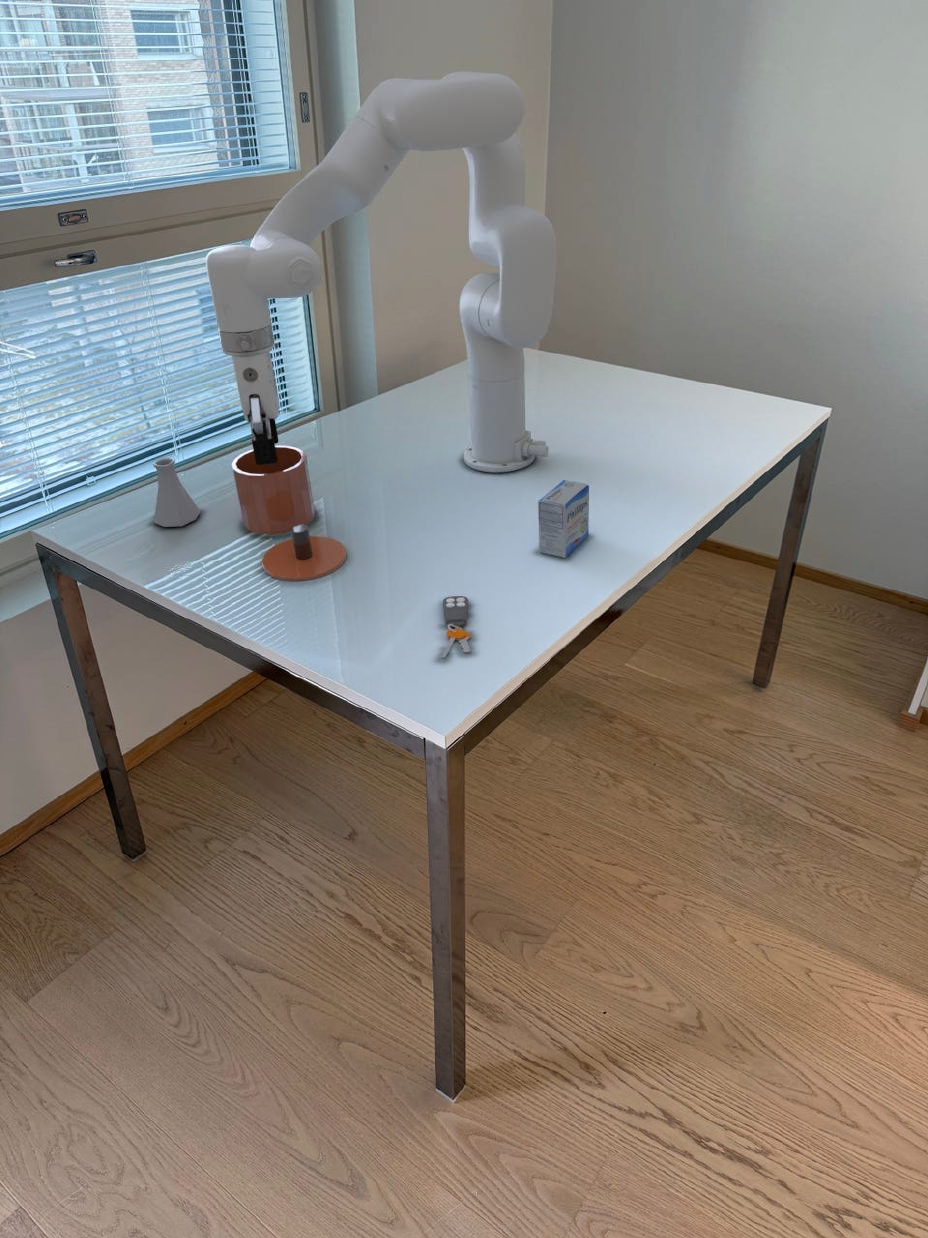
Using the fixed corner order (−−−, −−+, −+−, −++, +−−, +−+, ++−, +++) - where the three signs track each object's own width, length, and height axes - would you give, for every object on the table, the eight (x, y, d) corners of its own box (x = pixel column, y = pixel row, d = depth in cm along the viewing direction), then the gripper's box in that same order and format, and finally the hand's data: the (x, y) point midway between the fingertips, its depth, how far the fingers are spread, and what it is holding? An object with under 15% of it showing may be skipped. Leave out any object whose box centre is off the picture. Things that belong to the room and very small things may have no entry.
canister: (328, 509, 155) (319, 449, 149) (292, 541, 146) (281, 479, 140) (268, 500, 159) (257, 442, 153) (229, 532, 150) (216, 471, 144)
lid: (361, 549, 143) (357, 514, 140) (321, 590, 133) (315, 554, 130) (290, 538, 147) (284, 504, 144) (246, 577, 137) (239, 542, 134)
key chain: (441, 604, 128) (440, 595, 128) (468, 602, 128) (468, 593, 128) (441, 660, 118) (441, 650, 117) (471, 658, 118) (471, 648, 117)
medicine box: (565, 559, 137) (565, 505, 132) (538, 552, 139) (537, 499, 134) (589, 536, 142) (590, 483, 138) (562, 530, 144) (562, 478, 140)
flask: (208, 510, 157) (195, 454, 151) (184, 530, 151) (170, 473, 146) (171, 506, 159) (157, 450, 153) (145, 526, 153) (130, 469, 148)
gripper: (271, 353, 129) (291, 473, 139) (274, 319, 144) (292, 429, 153) (216, 359, 129) (240, 479, 138) (224, 323, 143) (246, 434, 153)
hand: (267, 452), depth 146 cm, fingers open, 7 cm apart
